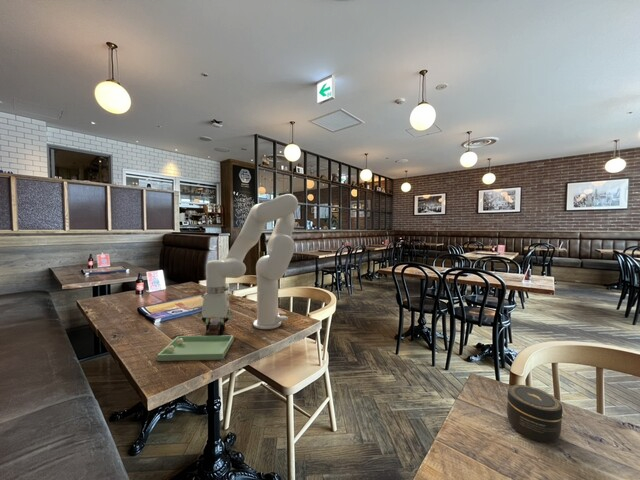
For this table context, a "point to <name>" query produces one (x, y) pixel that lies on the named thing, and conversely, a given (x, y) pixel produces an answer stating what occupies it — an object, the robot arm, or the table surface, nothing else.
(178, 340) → the crumb
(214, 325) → the stepped brown post
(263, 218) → the robot arm
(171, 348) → the crumb
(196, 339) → the tray
